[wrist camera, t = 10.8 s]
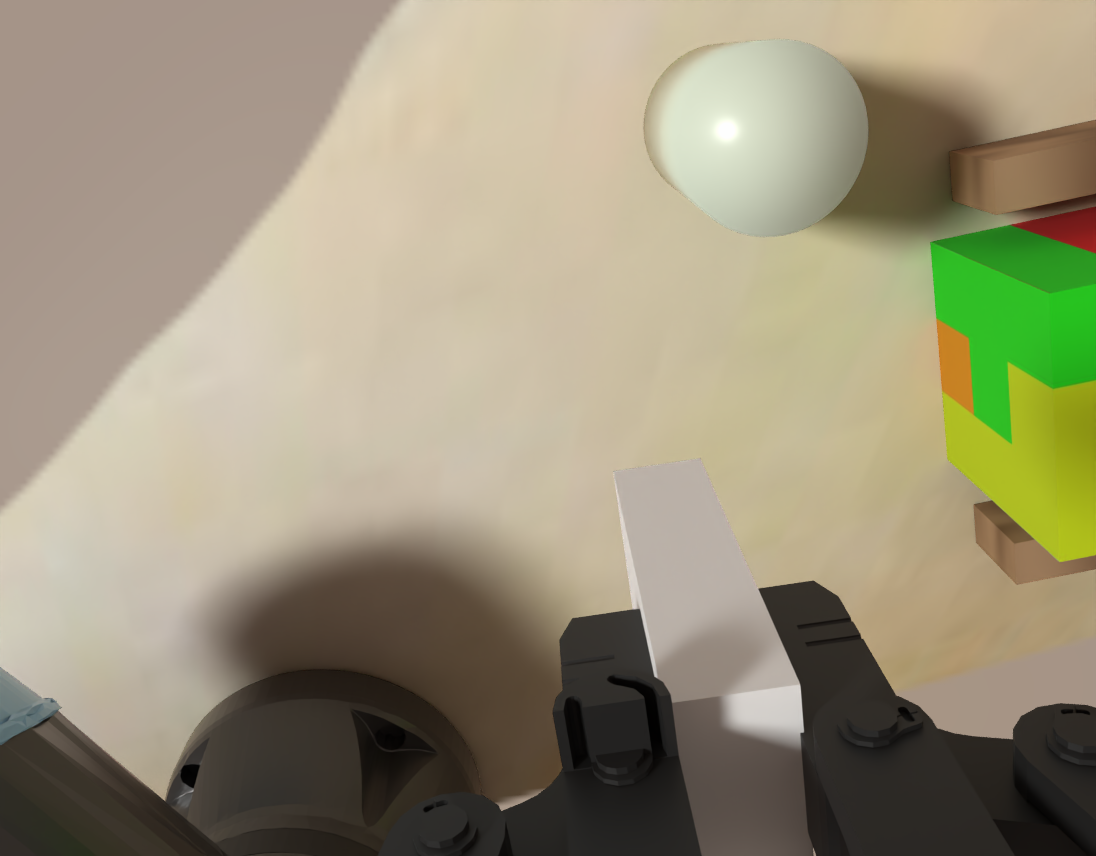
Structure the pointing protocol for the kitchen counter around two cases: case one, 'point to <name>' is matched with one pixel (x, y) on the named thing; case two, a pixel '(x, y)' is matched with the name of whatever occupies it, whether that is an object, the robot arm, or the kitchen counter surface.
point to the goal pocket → (1000, 187)
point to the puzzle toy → (1024, 371)
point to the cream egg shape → (758, 133)
